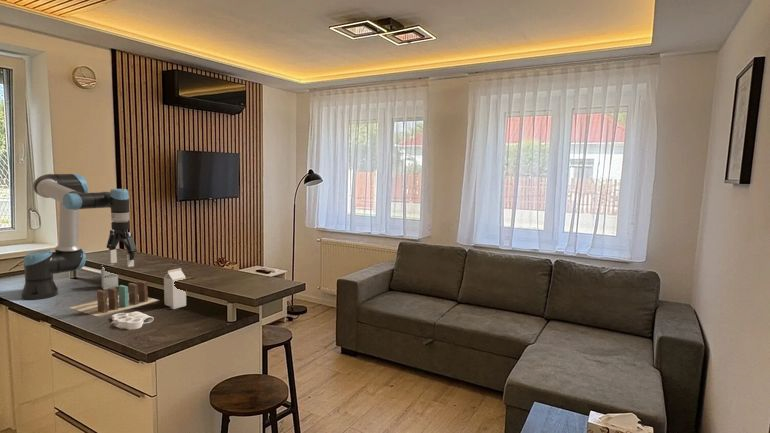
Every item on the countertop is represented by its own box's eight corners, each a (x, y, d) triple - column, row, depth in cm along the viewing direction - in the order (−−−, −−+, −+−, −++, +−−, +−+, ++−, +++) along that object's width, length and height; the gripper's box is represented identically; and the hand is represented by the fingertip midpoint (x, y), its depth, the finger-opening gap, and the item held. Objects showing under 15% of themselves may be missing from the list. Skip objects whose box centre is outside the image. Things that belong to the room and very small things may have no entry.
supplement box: (103, 290, 245) (102, 267, 244) (101, 287, 251) (100, 265, 249) (118, 288, 250) (117, 266, 248) (116, 285, 255) (115, 263, 254)
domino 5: (144, 302, 222) (144, 282, 221) (138, 300, 224) (138, 281, 223) (147, 301, 223) (147, 282, 222) (141, 299, 226) (141, 280, 225)
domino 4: (135, 304, 217) (134, 284, 216) (129, 303, 220) (128, 283, 219) (138, 303, 219) (137, 284, 218) (132, 302, 221) (131, 282, 220)
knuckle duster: (157, 323, 197) (123, 333, 185) (137, 315, 207) (103, 324, 195) (157, 316, 196) (123, 325, 184) (136, 308, 206) (102, 317, 194)
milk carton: (186, 305, 221) (185, 269, 219) (173, 309, 215) (172, 271, 213) (177, 303, 225) (176, 267, 223) (164, 307, 219) (163, 269, 217)
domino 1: (104, 313, 204) (103, 292, 203) (97, 311, 207) (97, 290, 205) (107, 312, 206) (106, 291, 205) (101, 310, 208) (100, 289, 207)
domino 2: (115, 310, 209) (114, 289, 208) (108, 308, 211) (107, 288, 210) (118, 309, 210) (117, 288, 209) (112, 307, 212) (111, 287, 211)
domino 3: (125, 307, 213) (124, 287, 212) (119, 305, 215) (118, 285, 214) (128, 306, 215) (127, 286, 213) (122, 304, 217) (121, 285, 216)
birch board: (67, 309, 211) (67, 307, 211) (128, 294, 237) (128, 292, 237) (99, 319, 199) (99, 317, 199) (160, 302, 226) (159, 300, 225)
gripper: (97, 219, 213) (98, 262, 215) (128, 224, 201) (130, 269, 204) (112, 218, 219) (114, 260, 222) (144, 222, 208) (145, 266, 210)
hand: (122, 264), depth 213 cm, fingers open, 13 cm apart
